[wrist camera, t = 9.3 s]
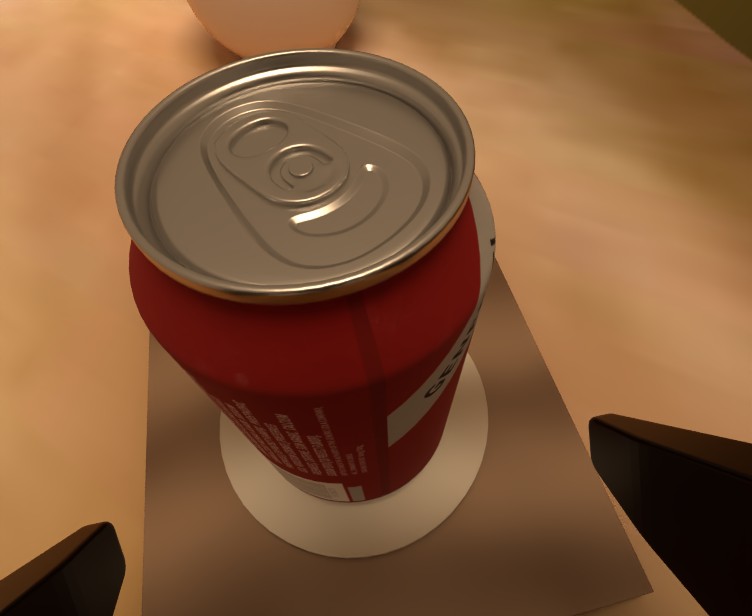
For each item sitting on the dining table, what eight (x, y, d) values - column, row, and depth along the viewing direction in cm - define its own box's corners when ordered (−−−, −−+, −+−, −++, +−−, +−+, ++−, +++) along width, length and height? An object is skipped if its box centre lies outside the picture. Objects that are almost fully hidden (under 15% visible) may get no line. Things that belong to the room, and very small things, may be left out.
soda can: (350, 554, 15) (257, 462, 5) (226, 412, 17) (-8, 155, 7) (482, 407, 17) (608, 134, 7) (355, 302, 20) (314, -7, 10)
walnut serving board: (639, 591, 16) (666, 591, 14) (153, 734, 14) (124, 751, 13) (476, 237, 24) (481, 212, 22) (160, 303, 22) (143, 281, 21)
